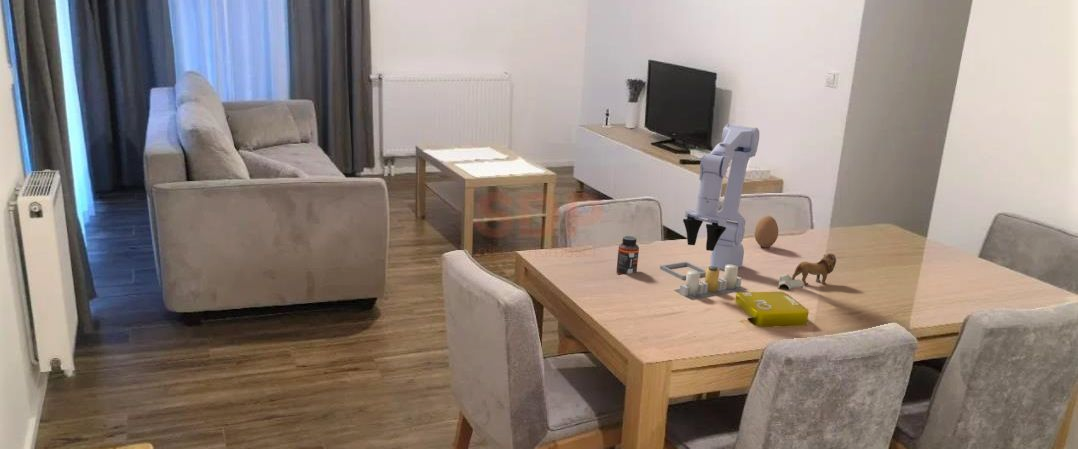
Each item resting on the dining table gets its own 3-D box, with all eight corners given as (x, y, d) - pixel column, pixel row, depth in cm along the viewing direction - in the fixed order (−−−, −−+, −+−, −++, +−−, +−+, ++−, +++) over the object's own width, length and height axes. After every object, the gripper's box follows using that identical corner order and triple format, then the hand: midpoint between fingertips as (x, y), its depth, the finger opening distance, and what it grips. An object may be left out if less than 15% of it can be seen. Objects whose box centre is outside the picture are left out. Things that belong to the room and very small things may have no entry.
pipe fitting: (802, 290, 250) (778, 285, 251) (804, 278, 248) (781, 272, 250) (800, 299, 242) (776, 293, 244) (803, 286, 241) (779, 280, 243)
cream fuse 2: (729, 283, 245) (732, 263, 243) (738, 287, 242) (740, 267, 240) (720, 285, 243) (722, 265, 242) (728, 289, 240) (731, 269, 239)
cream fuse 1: (691, 290, 238) (694, 269, 236) (700, 294, 235) (702, 273, 233) (681, 292, 236) (684, 271, 234) (690, 296, 233) (692, 275, 232)
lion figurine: (825, 278, 259) (830, 250, 257) (837, 284, 255) (841, 255, 252) (785, 281, 254) (789, 253, 252) (796, 288, 249) (800, 258, 247)
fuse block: (727, 285, 248) (728, 272, 247) (746, 294, 241) (748, 281, 240) (672, 295, 238) (673, 281, 237) (691, 305, 231) (692, 291, 230)
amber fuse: (711, 286, 242) (713, 264, 240) (719, 291, 239) (722, 268, 237) (701, 288, 240) (703, 266, 238) (709, 292, 237) (712, 270, 235)
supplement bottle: (635, 279, 249) (638, 241, 246) (615, 276, 250) (618, 239, 247) (637, 272, 255) (640, 236, 251) (617, 270, 256) (620, 233, 253)
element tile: (809, 327, 222) (812, 310, 221) (756, 328, 219) (758, 311, 217) (782, 305, 236) (784, 289, 235) (731, 306, 233) (733, 290, 232)
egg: (780, 247, 288) (784, 216, 285) (769, 252, 282) (773, 220, 279) (759, 242, 292) (763, 211, 289) (748, 246, 287) (752, 215, 284)
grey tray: (685, 269, 260) (686, 261, 259) (707, 279, 252) (708, 271, 251) (659, 273, 255) (660, 265, 254) (681, 284, 247) (682, 276, 246)
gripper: (679, 193, 237) (672, 241, 239) (715, 201, 225) (707, 252, 227) (699, 195, 241) (691, 243, 243) (735, 203, 229) (726, 253, 231)
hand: (700, 247), depth 235 cm, fingers open, 7 cm apart
